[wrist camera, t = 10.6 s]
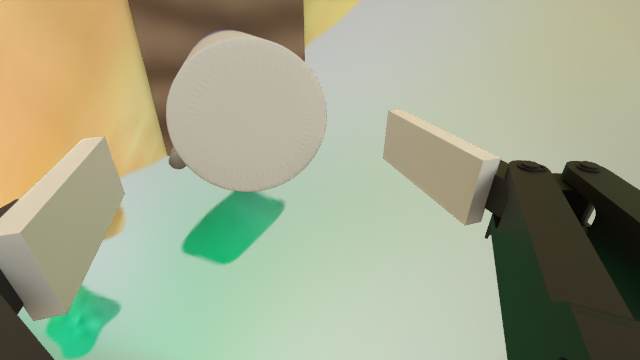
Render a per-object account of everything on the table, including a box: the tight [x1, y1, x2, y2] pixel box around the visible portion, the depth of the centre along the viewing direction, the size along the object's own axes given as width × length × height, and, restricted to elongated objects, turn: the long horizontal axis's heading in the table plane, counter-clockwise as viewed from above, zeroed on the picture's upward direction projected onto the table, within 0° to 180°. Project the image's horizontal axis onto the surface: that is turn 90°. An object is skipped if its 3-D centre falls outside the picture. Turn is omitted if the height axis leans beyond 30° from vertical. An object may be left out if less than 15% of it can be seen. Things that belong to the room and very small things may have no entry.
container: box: [166, 30, 327, 192], centre depth 28 cm, size 10×10×20 cm
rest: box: [128, 0, 305, 169], centre depth 34 cm, size 18×18×8 cm
